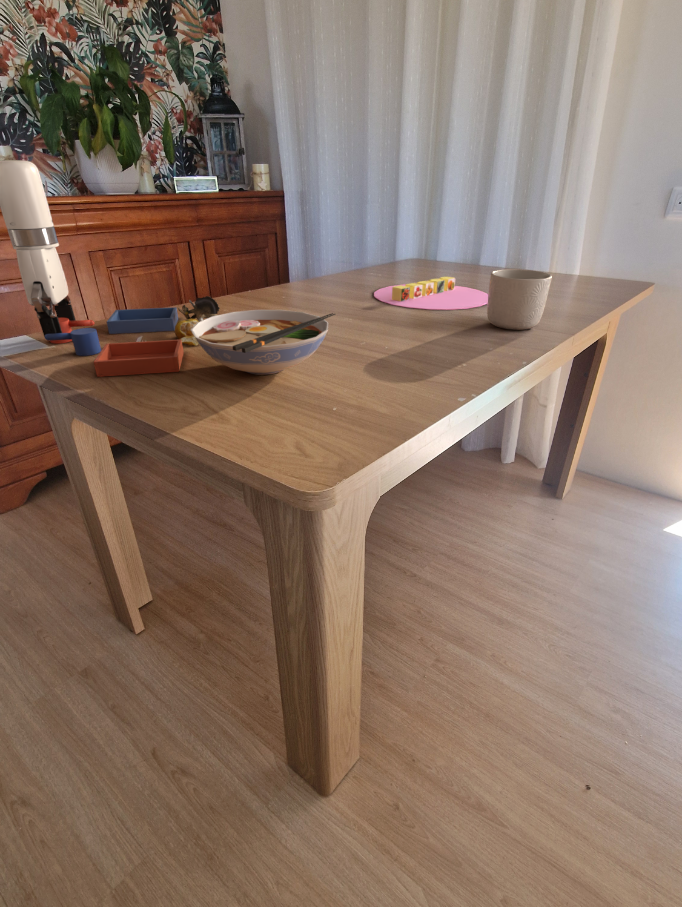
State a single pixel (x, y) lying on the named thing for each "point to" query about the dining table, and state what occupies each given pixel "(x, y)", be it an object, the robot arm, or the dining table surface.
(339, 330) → the dining table surface
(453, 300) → the platter
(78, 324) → the red scoop
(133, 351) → the red tray
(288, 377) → the dining table surface
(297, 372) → the dining table surface
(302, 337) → the ramen bowl
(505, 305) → the planter
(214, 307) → the brown figurine
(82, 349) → the blue scoop
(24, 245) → the robot arm
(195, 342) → the fruit
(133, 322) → the blue tray
